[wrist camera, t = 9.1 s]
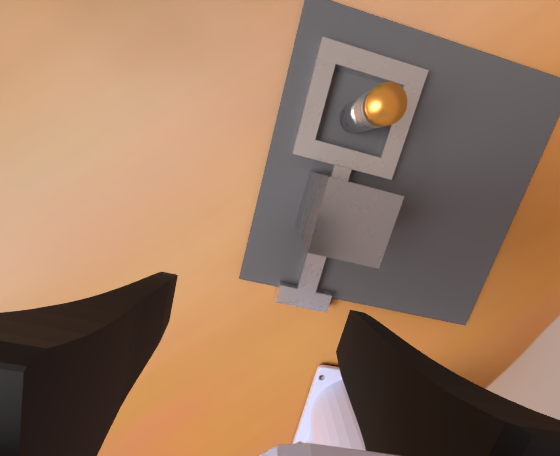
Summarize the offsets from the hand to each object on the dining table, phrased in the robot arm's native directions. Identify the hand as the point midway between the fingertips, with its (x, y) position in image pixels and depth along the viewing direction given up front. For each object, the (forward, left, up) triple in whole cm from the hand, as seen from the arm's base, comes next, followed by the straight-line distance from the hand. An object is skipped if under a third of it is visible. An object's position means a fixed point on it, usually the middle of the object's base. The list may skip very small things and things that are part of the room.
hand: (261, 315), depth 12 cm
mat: (+7, -9, -10) cm, 15 cm away
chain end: (+4, -4, -10) cm, 11 cm away
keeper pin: (+10, -4, -10) cm, 14 cm away
